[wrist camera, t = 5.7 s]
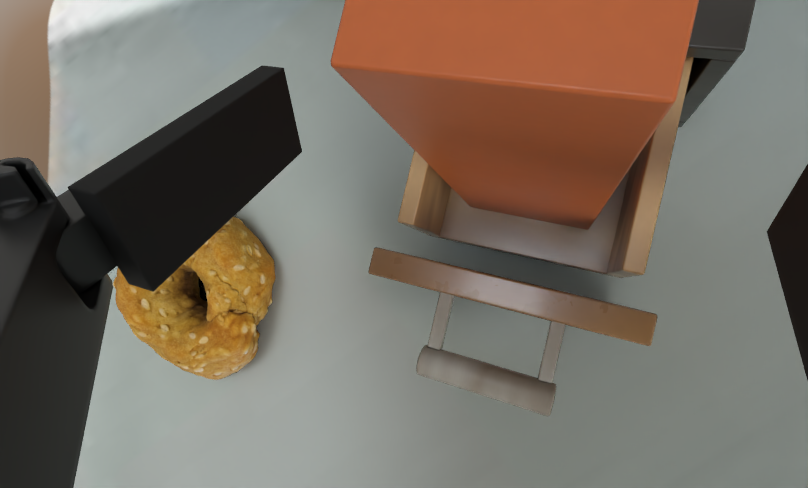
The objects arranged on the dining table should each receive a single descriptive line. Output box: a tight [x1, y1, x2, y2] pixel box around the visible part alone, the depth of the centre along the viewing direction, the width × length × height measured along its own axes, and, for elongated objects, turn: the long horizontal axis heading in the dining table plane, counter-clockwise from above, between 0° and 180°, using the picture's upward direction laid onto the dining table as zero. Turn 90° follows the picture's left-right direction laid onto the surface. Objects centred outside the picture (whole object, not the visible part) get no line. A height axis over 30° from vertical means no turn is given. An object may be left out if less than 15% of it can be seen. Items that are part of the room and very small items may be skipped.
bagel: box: [113, 217, 275, 380], centre depth 29 cm, size 10×11×5 cm
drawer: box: [369, 57, 694, 416], centre depth 22 cm, size 17×11×6 cm
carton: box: [331, 0, 699, 230], centre depth 16 cm, size 6×5×16 cm
